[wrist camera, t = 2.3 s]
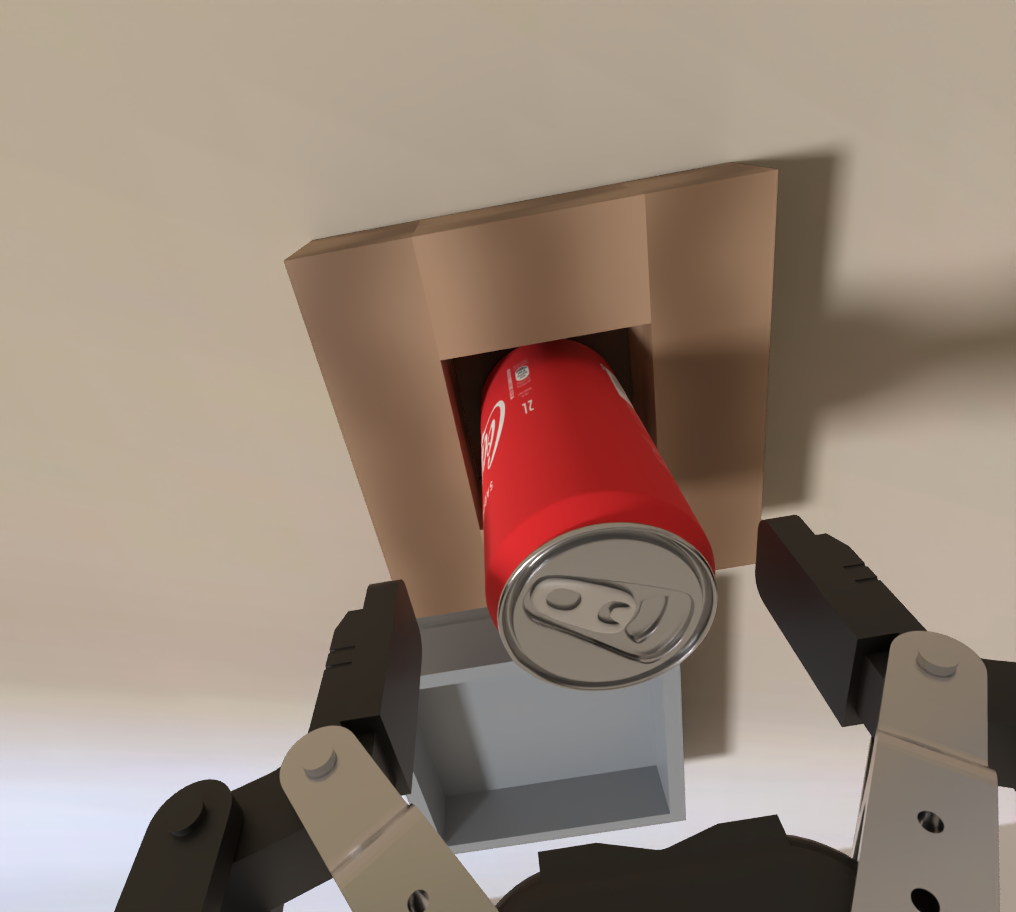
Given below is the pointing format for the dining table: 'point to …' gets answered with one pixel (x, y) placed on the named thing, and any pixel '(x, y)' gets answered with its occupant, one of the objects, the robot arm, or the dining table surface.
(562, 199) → the socket holder
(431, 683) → the tray
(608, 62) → the dining table surface
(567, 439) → the beverage can
